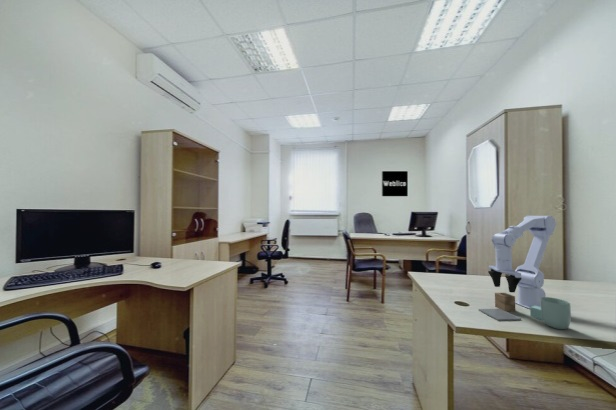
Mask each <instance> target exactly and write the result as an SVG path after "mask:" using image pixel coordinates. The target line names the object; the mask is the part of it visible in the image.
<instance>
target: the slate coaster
mask: <svg viewBox="0 0 616 410" xmlns="http://www.w3.org/2000/svg"><path fill="white" fill-rule="evenodd" d="M478 312H480V313H483V314H485V315H487V316H489V317H490V318H492V319H494V320H496V321H499V322H500V321H522V318H520V317H518V316H516V315H515V314H512V313H510V312H509V311H504V310H502V309H499V308H478Z"/></svg>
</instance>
